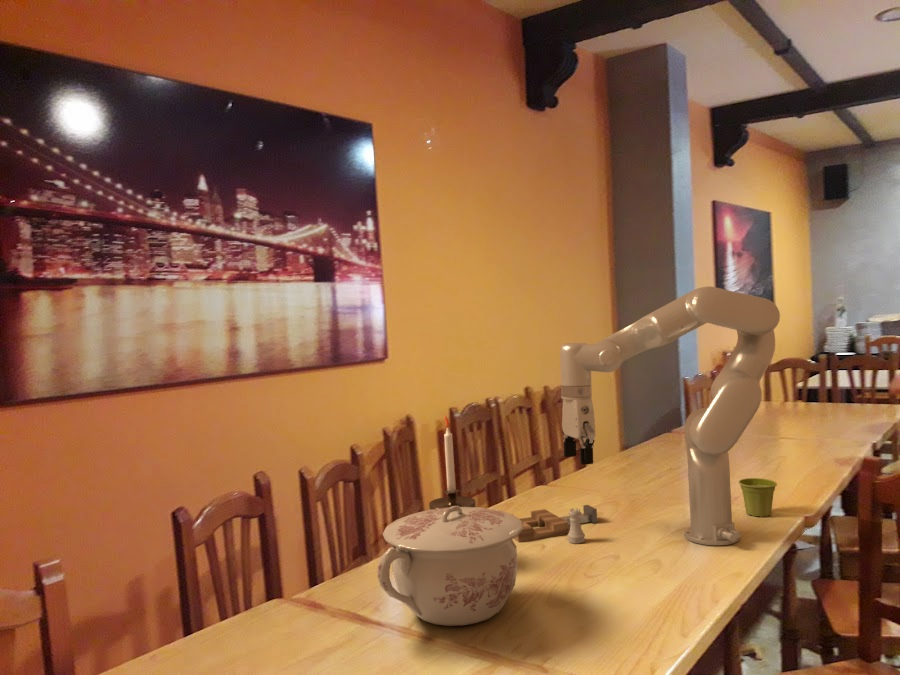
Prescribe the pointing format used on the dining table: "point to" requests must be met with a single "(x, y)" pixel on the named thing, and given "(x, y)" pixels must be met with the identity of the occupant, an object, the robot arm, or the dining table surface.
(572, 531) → the rook chess piece
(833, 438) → the dining table surface
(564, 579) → the dining table surface
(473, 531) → the chamber pot
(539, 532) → the mount
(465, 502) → the candlestick
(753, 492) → the plant pot
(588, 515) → the lock pin
